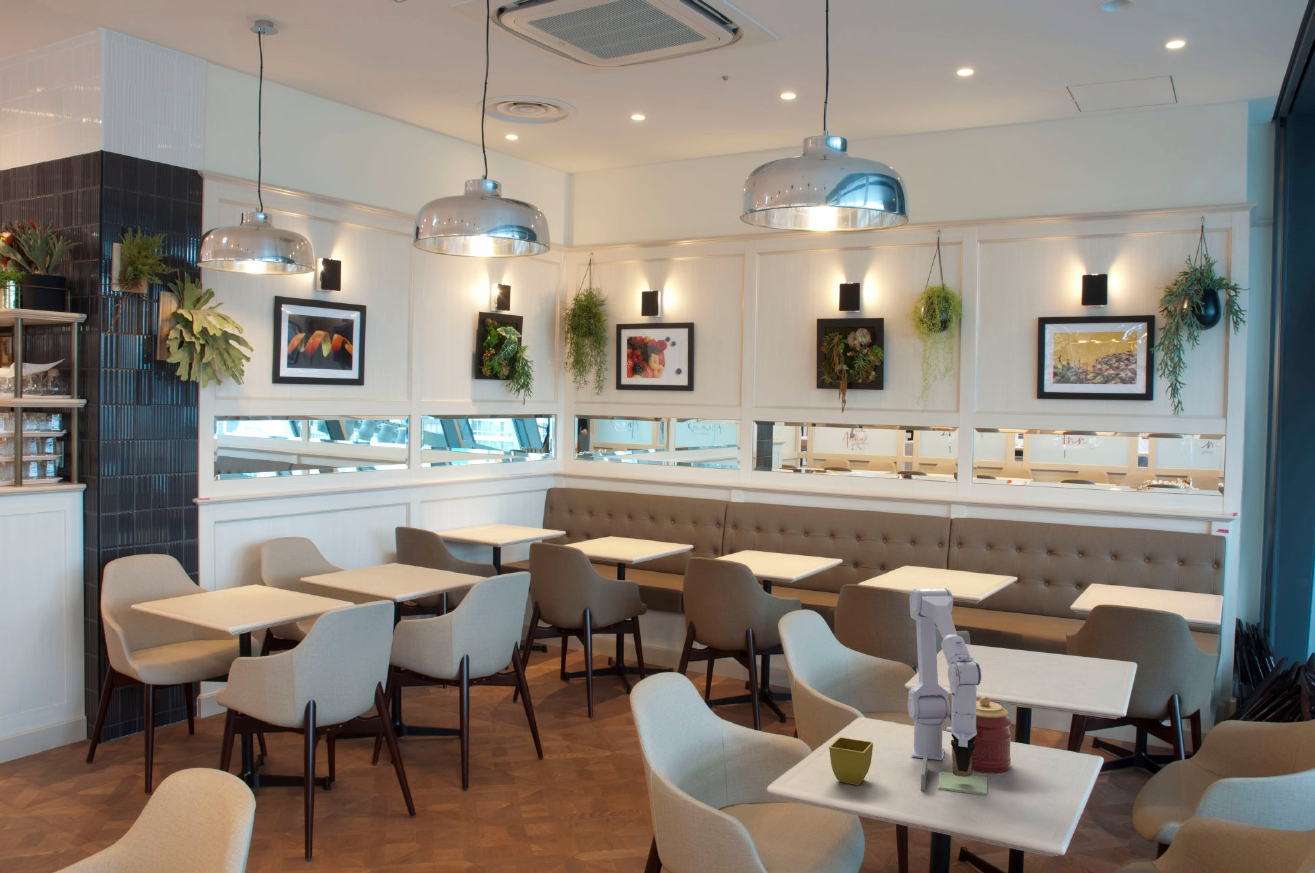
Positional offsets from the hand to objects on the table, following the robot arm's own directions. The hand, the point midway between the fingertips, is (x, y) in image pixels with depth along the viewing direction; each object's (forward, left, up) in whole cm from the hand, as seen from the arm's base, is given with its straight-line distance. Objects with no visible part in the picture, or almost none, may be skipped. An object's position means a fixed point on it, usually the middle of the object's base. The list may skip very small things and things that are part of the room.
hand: (963, 767), depth 233 cm
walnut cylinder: (0, 0, -2) cm, 2 cm away
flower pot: (+6, -26, -5) cm, 27 cm away
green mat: (-1, 0, -4) cm, 5 cm away
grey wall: (-1, -9, -4) cm, 10 cm away
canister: (-17, +5, -5) cm, 18 cm away
